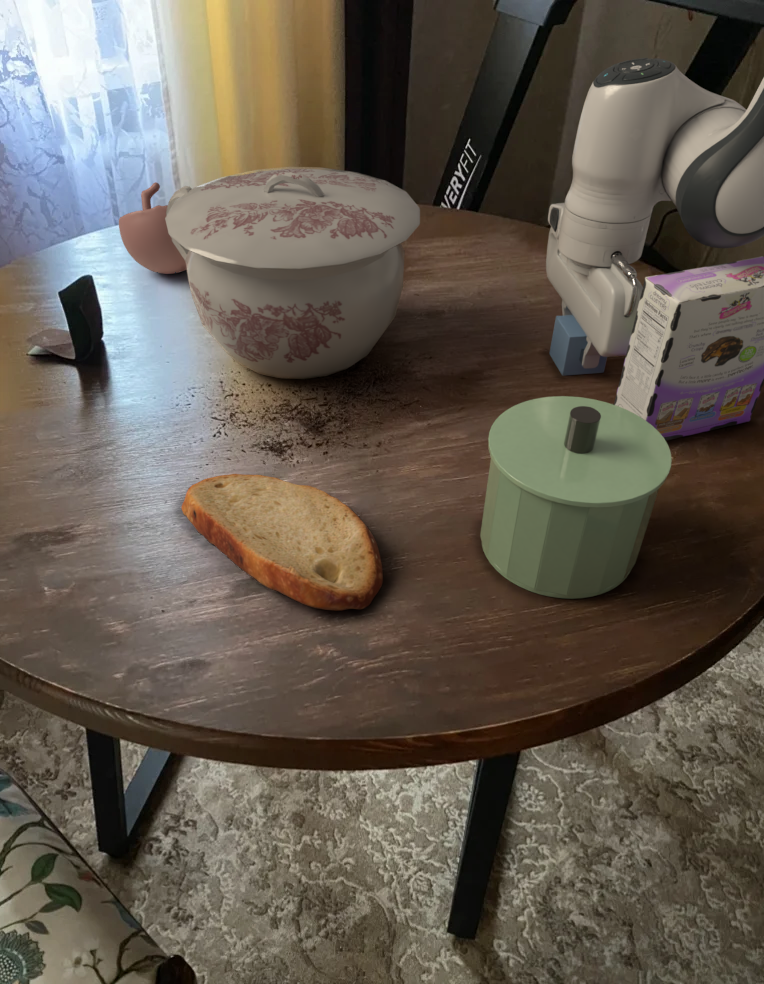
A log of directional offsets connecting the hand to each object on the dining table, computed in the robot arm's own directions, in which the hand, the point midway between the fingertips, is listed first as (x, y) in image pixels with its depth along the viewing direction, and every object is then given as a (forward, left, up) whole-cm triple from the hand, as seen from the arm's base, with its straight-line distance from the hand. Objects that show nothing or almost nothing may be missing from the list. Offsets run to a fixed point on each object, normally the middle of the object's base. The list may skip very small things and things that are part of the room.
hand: (578, 350), depth 98 cm
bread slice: (+37, +27, -2) cm, 46 cm away
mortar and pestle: (+48, -32, -2) cm, 58 cm away
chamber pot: (+32, -8, -2) cm, 33 cm away
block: (0, 0, -2) cm, 2 cm away
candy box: (-7, +13, -2) cm, 15 cm away
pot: (+12, +30, -2) cm, 32 cm away
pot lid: (+12, +30, +9) cm, 34 cm away
